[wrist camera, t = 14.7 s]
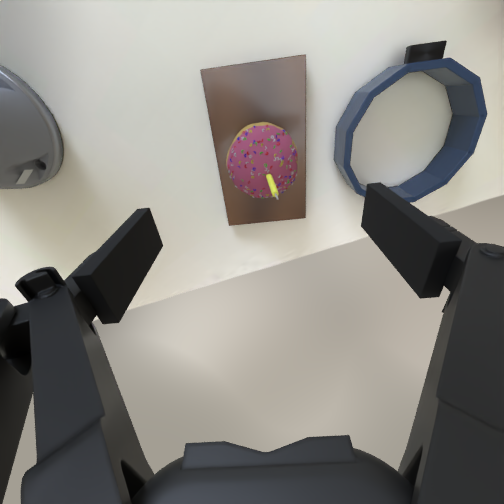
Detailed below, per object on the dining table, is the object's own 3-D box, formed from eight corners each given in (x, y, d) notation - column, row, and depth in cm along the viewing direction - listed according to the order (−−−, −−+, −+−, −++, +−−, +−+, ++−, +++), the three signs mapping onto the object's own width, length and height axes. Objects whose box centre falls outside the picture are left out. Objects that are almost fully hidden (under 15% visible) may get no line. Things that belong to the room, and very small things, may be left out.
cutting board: (229, 221, 40) (229, 225, 39) (202, 70, 29) (200, 69, 28) (303, 214, 39) (305, 218, 38) (303, 56, 29) (306, 54, 27)
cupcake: (305, 159, 33) (328, 188, 23) (257, 198, 36) (258, 238, 26) (266, 103, 30) (272, 108, 20) (216, 151, 33) (199, 176, 23)
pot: (330, 207, 39) (339, 219, 35) (340, 58, 29) (353, 53, 25) (434, 196, 38) (454, 208, 34) (481, 38, 28) (517, 29, 24)
